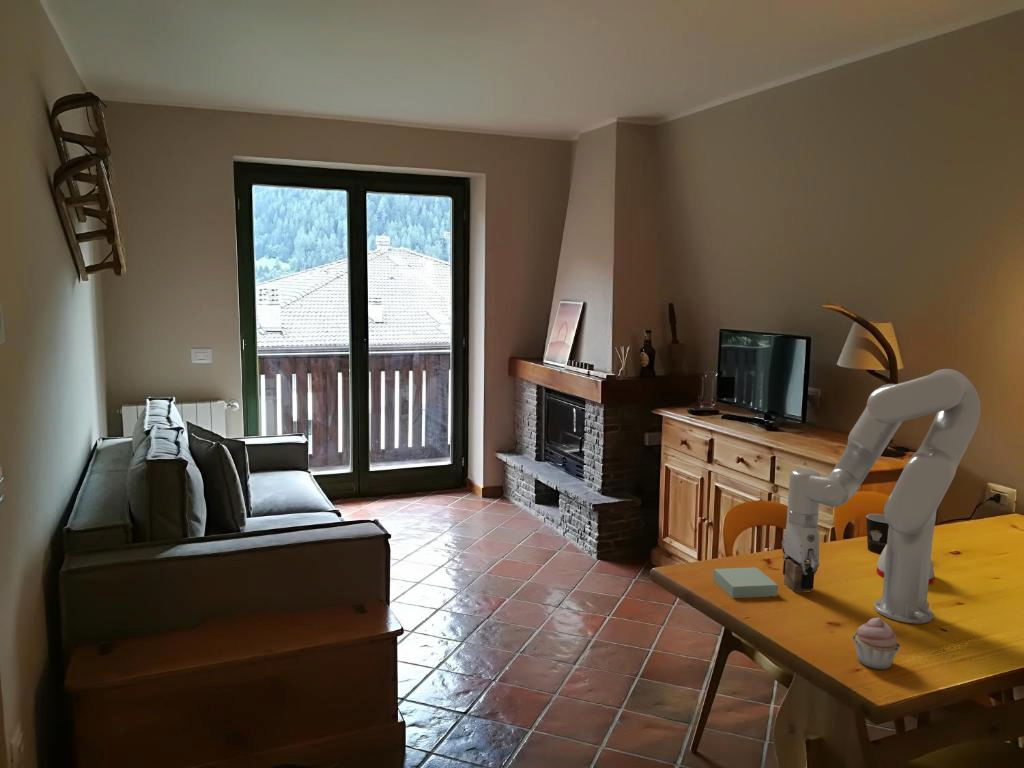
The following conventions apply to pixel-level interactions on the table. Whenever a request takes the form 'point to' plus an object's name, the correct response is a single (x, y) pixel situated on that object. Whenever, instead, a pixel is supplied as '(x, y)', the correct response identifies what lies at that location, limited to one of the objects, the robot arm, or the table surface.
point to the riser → (745, 582)
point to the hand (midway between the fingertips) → (797, 581)
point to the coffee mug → (876, 532)
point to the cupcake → (876, 644)
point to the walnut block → (794, 575)
